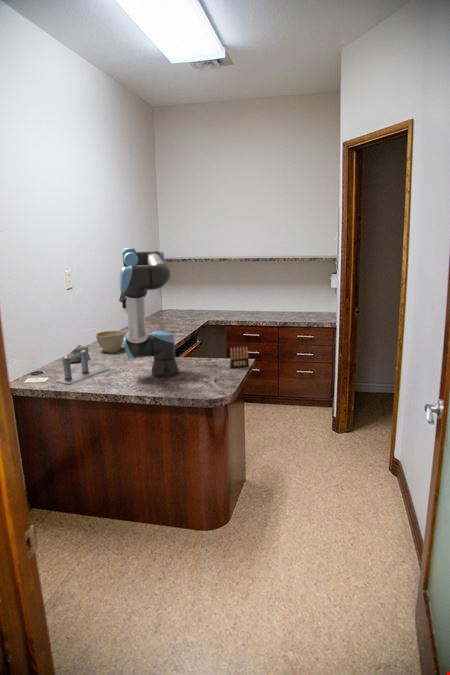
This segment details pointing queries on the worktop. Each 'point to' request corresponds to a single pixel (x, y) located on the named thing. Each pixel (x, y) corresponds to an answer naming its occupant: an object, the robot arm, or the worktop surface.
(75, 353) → the mineral rock
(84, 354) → the leg
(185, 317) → the worktop surface
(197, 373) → the worktop surface
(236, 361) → the ammunition clip
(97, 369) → the bolt plate
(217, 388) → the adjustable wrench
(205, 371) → the worktop surface
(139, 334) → the robot arm
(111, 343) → the flower pot
